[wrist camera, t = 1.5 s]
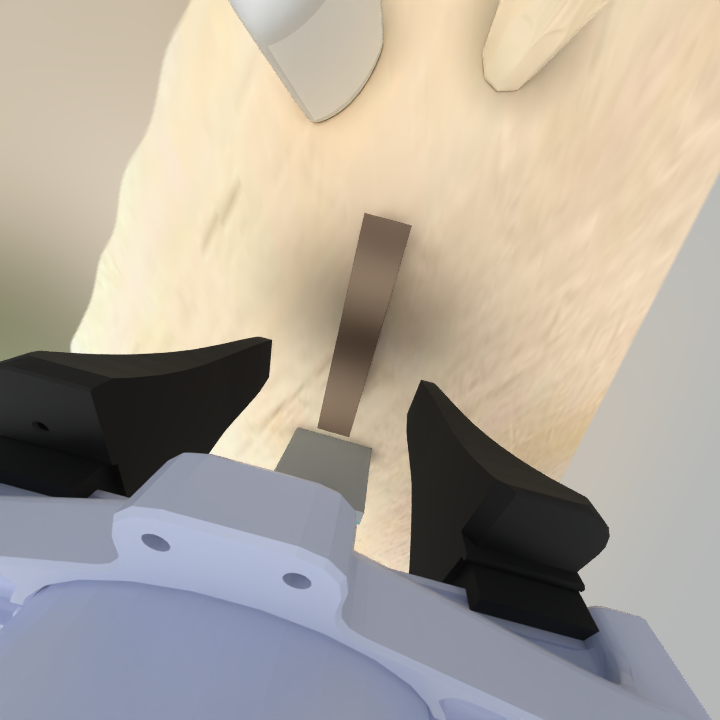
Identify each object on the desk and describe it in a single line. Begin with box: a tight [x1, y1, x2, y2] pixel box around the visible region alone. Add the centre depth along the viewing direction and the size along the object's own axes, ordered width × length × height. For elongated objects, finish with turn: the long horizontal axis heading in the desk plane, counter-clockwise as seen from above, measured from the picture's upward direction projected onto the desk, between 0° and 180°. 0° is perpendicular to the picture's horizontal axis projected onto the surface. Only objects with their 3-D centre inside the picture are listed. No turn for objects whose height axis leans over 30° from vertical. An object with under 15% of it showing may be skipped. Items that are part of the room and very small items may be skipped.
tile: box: [274, 428, 372, 524], centre depth 23 cm, size 8×2×7 cm, turn 76°
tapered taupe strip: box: [317, 213, 412, 437], centre depth 18 cm, size 14×2×6 cm, turn 166°
